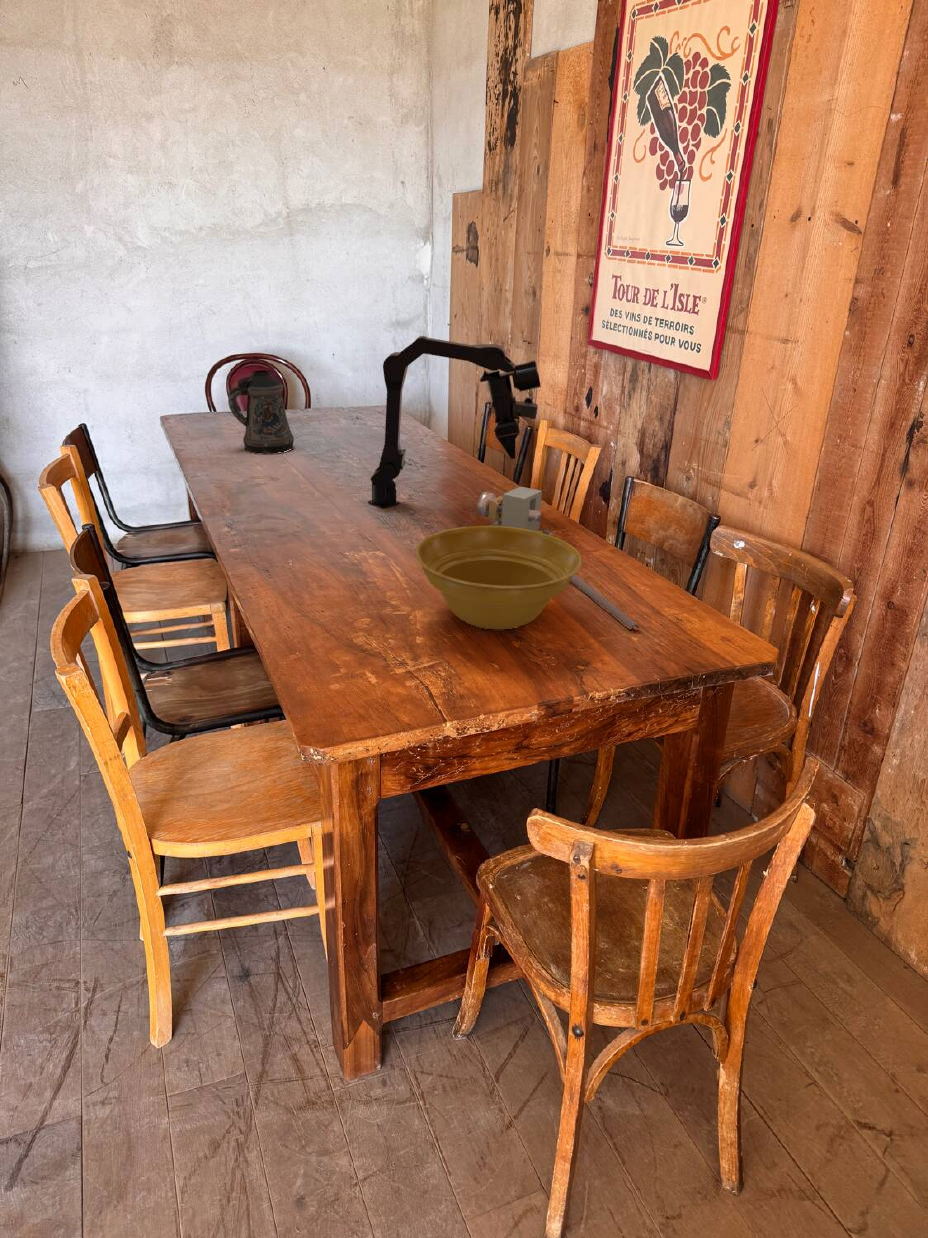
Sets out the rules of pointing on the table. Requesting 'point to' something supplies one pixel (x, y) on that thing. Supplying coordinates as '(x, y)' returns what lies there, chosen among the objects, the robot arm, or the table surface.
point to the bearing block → (521, 509)
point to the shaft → (499, 507)
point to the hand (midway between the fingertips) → (513, 454)
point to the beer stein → (262, 413)
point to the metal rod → (603, 602)
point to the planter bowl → (497, 572)
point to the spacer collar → (495, 509)
